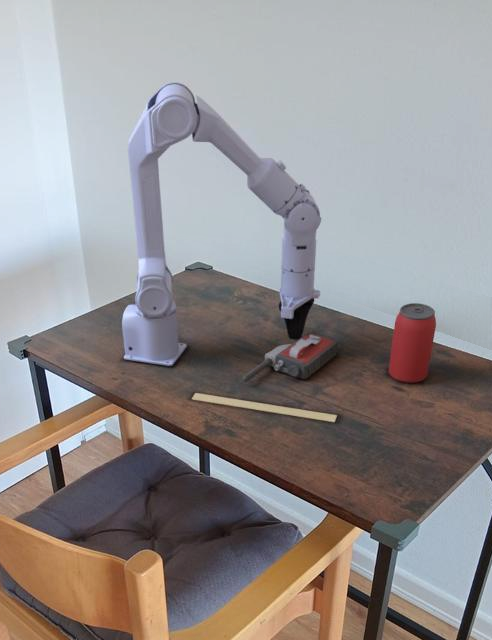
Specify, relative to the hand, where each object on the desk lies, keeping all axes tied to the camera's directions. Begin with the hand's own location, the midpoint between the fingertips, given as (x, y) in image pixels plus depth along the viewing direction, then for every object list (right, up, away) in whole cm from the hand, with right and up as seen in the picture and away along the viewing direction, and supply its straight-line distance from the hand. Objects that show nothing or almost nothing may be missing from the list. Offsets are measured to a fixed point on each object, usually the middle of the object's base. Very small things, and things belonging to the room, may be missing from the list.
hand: (295, 338), depth 137 cm
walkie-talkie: (-1, -6, -5) cm, 8 cm away
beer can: (+19, -8, -7) cm, 21 cm away
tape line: (-7, -14, -14) cm, 21 cm away
